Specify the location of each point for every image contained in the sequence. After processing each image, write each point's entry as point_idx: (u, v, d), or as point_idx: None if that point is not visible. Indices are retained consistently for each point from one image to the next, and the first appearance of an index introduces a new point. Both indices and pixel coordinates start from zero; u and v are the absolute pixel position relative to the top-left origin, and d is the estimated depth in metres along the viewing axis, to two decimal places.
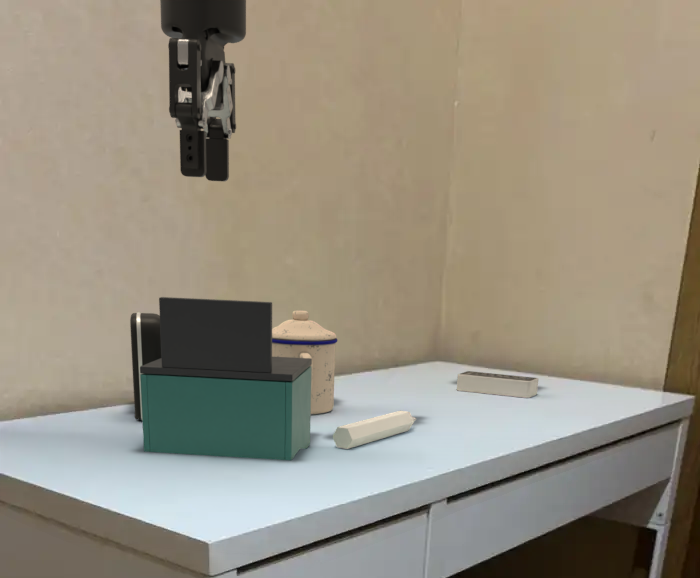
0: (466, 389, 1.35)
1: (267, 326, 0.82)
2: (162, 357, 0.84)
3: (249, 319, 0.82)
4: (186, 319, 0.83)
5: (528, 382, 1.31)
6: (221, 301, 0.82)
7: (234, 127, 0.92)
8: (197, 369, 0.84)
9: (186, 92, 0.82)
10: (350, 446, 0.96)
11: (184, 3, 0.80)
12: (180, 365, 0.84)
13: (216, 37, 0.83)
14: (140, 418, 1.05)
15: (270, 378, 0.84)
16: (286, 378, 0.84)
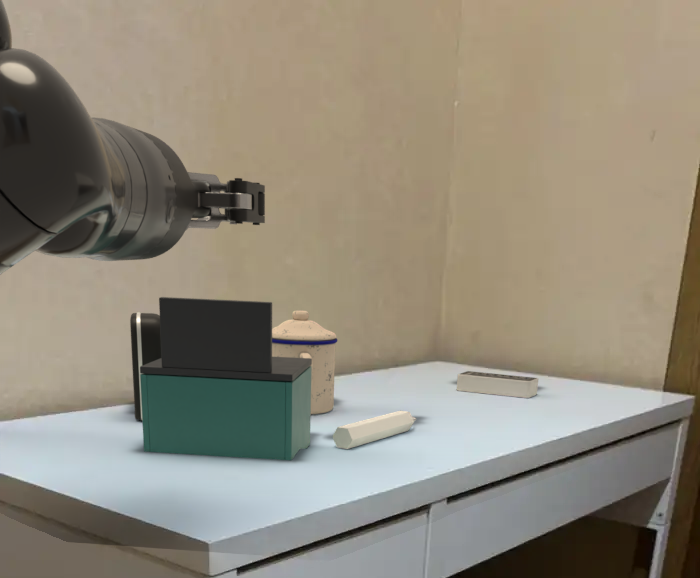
0: (466, 389, 1.35)
1: (267, 326, 0.82)
2: (162, 357, 0.84)
3: (249, 319, 0.82)
4: (186, 319, 0.83)
5: (528, 382, 1.31)
6: (221, 301, 0.82)
7: None
8: (197, 369, 0.84)
9: None
10: (350, 446, 0.96)
11: None
12: (180, 365, 0.84)
13: None
14: (140, 418, 1.05)
15: (270, 378, 0.84)
16: (286, 378, 0.84)
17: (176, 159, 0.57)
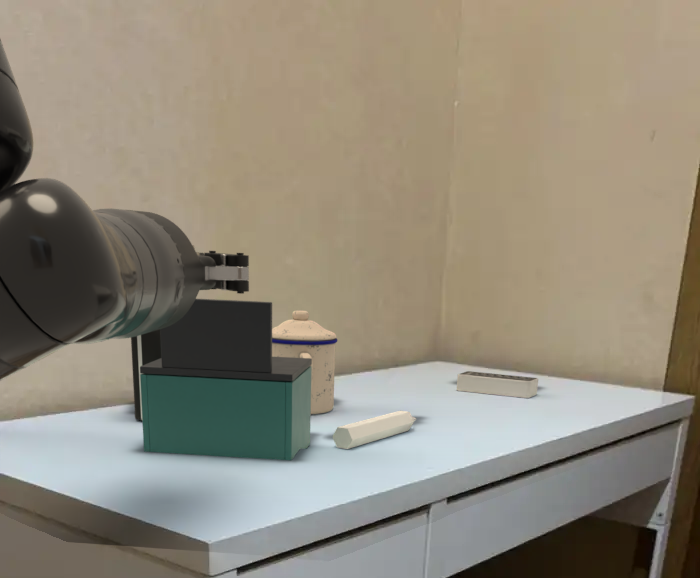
0: (465, 389, 1.35)
1: (267, 326, 0.82)
2: (162, 357, 0.84)
3: (249, 319, 0.82)
4: (186, 319, 0.83)
5: (528, 382, 1.31)
6: (221, 301, 0.82)
7: None
8: (197, 369, 0.84)
9: None
10: (350, 446, 0.96)
11: None
12: (180, 365, 0.84)
13: None
14: (140, 418, 1.05)
15: (270, 378, 0.84)
16: (286, 378, 0.84)
17: (184, 239, 0.61)
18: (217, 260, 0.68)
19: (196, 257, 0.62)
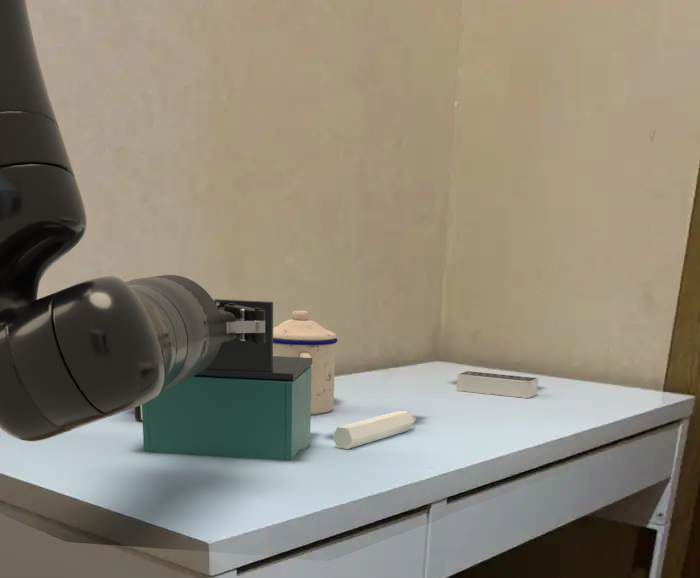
0: (465, 389, 1.35)
1: (268, 326, 0.83)
2: None
3: None
4: None
5: (528, 382, 1.31)
6: (222, 301, 0.82)
7: None
8: None
9: None
10: (350, 446, 0.96)
11: None
12: None
13: None
14: (140, 418, 1.05)
15: (271, 377, 0.84)
16: (287, 377, 0.84)
17: (209, 301, 0.68)
18: (236, 313, 0.75)
19: (219, 315, 0.70)
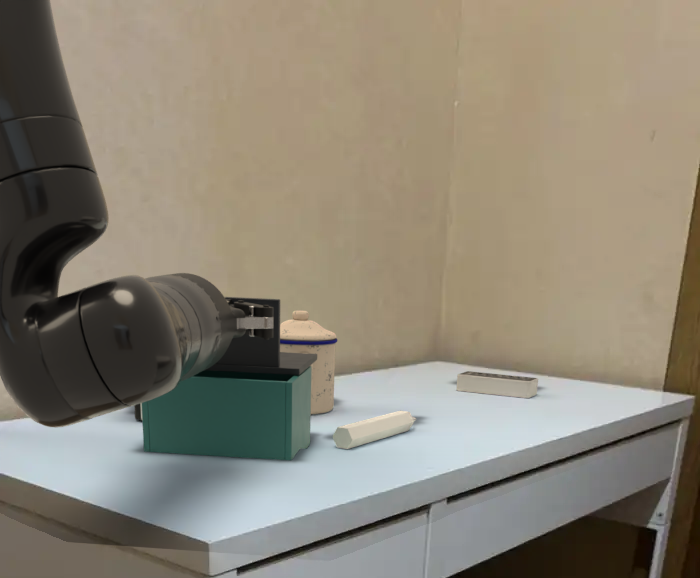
0: (465, 389, 1.35)
1: (275, 322, 0.86)
2: None
3: None
4: None
5: (528, 382, 1.31)
6: (231, 298, 0.85)
7: None
8: None
9: None
10: (350, 446, 0.96)
11: None
12: None
13: None
14: (140, 418, 1.05)
15: (278, 372, 0.87)
16: (293, 372, 0.87)
17: (220, 298, 0.72)
18: (246, 310, 0.79)
19: (230, 311, 0.73)
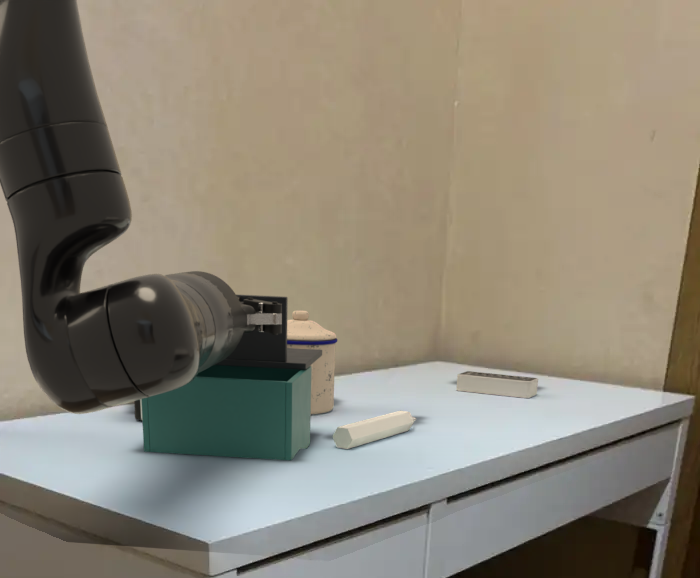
0: (465, 389, 1.35)
1: (283, 319, 0.89)
2: None
3: None
4: None
5: (528, 382, 1.31)
6: (240, 296, 0.89)
7: None
8: None
9: None
10: (350, 446, 0.96)
11: None
12: None
13: None
14: (140, 418, 1.05)
15: (285, 367, 0.91)
16: (300, 366, 0.91)
17: (232, 294, 0.75)
18: (255, 306, 0.82)
19: (241, 308, 0.77)
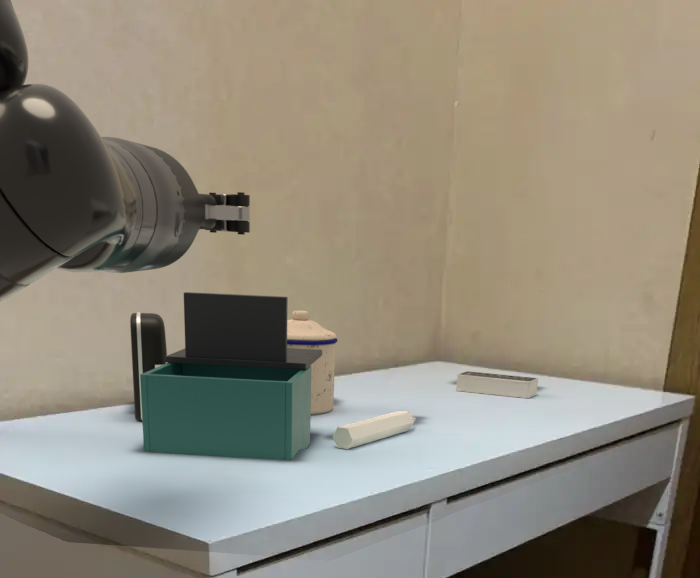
0: (465, 389, 1.35)
1: (283, 319, 0.89)
2: (186, 347, 0.91)
3: (266, 312, 0.89)
4: (209, 312, 0.90)
5: (528, 382, 1.31)
6: (241, 296, 0.89)
7: (210, 231, 0.70)
8: (218, 358, 0.92)
9: None
10: (350, 446, 0.96)
11: None
12: (202, 355, 0.92)
13: None
14: (140, 418, 1.05)
15: (285, 367, 0.91)
16: (300, 366, 0.91)
17: (184, 174, 0.60)
18: (217, 201, 0.67)
19: (196, 193, 0.61)
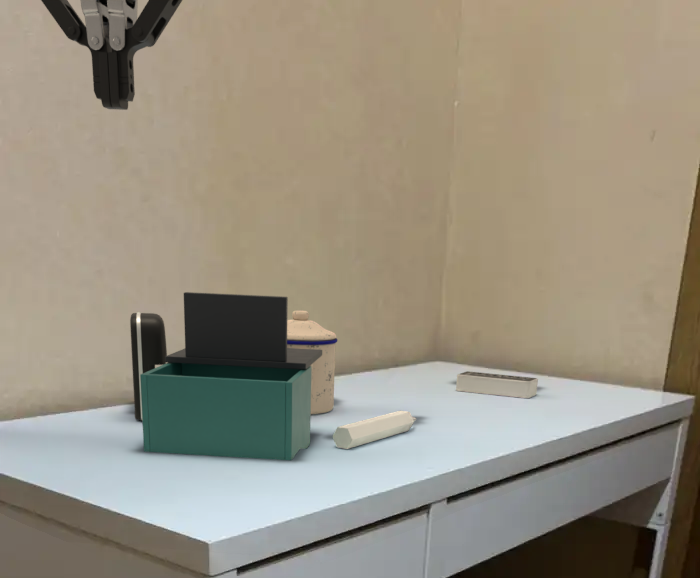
0: (465, 389, 1.35)
1: (283, 319, 0.89)
2: (186, 347, 0.91)
3: (266, 312, 0.89)
4: (209, 312, 0.90)
5: (528, 382, 1.31)
6: (241, 296, 0.89)
7: (136, 31, 0.71)
8: (218, 358, 0.92)
9: None
10: (350, 446, 0.96)
11: None
12: (202, 355, 0.92)
13: None
14: (140, 418, 1.05)
15: (285, 367, 0.91)
16: (300, 366, 0.91)
17: None
18: None
19: None
